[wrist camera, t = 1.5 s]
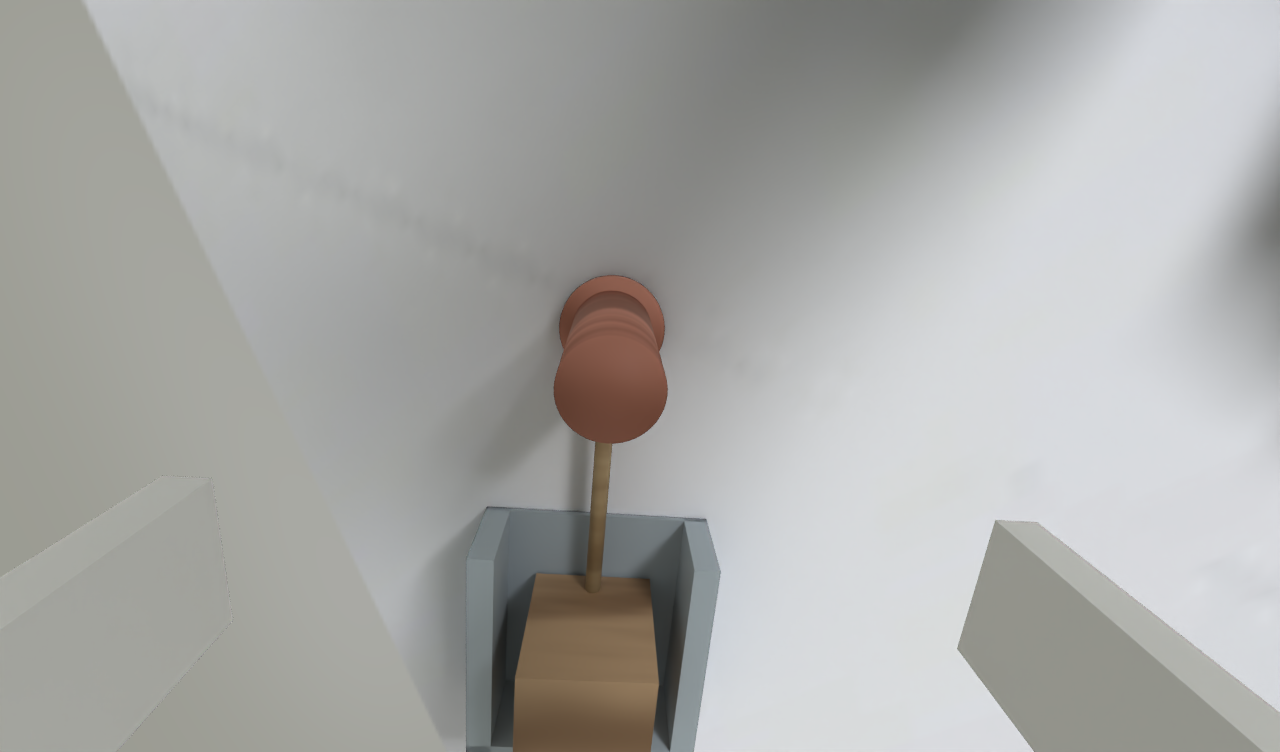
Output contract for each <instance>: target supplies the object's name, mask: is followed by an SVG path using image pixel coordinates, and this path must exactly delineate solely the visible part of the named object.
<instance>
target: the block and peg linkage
mask: <svg viewBox="0 0 1280 752" xmlns="http://www.w3.org/2000/svg"><path fill="white" fill-rule="evenodd" d="M664 331H665V326H664V319H663V314H662V312H661V309H660V306H659V304H658V302H657V300H656V299H655V297H654V296H653V295H652V293H651V292H650V291H649V290H648V289H647V288H645V287H644V286H643V285H642V284H640V283H638V282H637V281H635V280H632V279H630V278H627V277H623V276H617V275H607V276H600V277H596V278H594V279H591V280H589V281H587V282H585V283H583V284H582V285H581V286H579V287H578V288H577V289H576V290H575V291H574V292H573V293H572V294H571V296H570V297H569V298H568V300H567V302H566V304H565V306H564V308H563V311H562V313H561V317H560V324H559V333H560V340H561V343H562V346H563V348H564V351H563V354H562V357H561V361H560V364H559V367H558V370H557V373H556V377H555V381H554V398H555V403H556V406H557V409H558V411H559V413H560V415H561V417H562V418H563V420H564V421H565V422H566V424H567V425H568V426H569V427H570V428H571V429H572V430H573V431H575V432H576V433H578V434H579V435H581V436H583V437H584V438H586V439H589V440H592V441H595V453H594V467H593V482H592V496H591V510H590V524H589V538H588V552H587V566H586V576H581V575H561V574H541V573H536V578H535V583H534V588H533V593H532V598H531V602H530V607H529V612H528V617H527V622H526V627H525V632H524V637H523V641H522V646H521V651H520V656H519V661H518V666H517V671H516V676H515V693H514V725H513V752H651V745H652V737H653V728H654V720H655V712H656V704H657V696H658V687H659V679H658V667H657V656H656V645H655V634H654V622H653V611H652V600H651V589H650V579H641V578H621V577H601V576H602V564H603V551H604V539H605V527H606V514H607V502H608V489H609V477H610V464H611V452H612V444H614V443H622V442H626V441H630V440H632V439H635V438H637V437H639V436H641V435H642V434H644V433H645V432H647V431H648V430H649V429H650V428H651V427H652V426H653V425H654V424H655V423H656V422H657V420H658V419H659V417H660V416H661V414H662V412H663V410H664V407H665V404H666V400H667V389H668V388H667V380H666V376H665V372H664V368H663V365H662V361H661V357H660V354H659V351H660V349H661V346H662V343H663V339H664Z"/></svg>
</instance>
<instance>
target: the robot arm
mask: <svg viewBox="0 0 1280 752" xmlns="http://www.w3.org/2000/svg"><path fill="white" fill-rule="evenodd" d="M232 621H233V616H232V609H231V603H230V596H229V589H228V582H227V576H226V569H225V562H224V556H223V548H222V541H221V534H220V528H219V521H218V514H217V507H216V500H215V494H214V487H213V480H212V478H200V477H181V476H161V477H159V478H157V479H156V480H154V481H153V482H151V483H149V484H148V485H146V486H145V487H143V488H142V489H140V490H138V491H137V492H135V493H134V494H132V495H130V496H129V497H127V498H126V499H124V500H123V501H121V502H119V503H118V504H116V505H115V506H113V507H111V508H110V509H108V510H107V511H105V512H103V513H102V514H100V515H99V516H97V517H95V518H94V519H92V520H91V521H89V522H88V523H86V524H85V525H83V526H81V527H80V528H78V529H76V530H75V531H73V532H72V533H70V534H68V535H67V536H65V537H64V538H62V539H61V540H59V541H57V542H56V543H54V544H53V545H51V546H49V547H48V548H46V549H45V550H43V551H41V552H40V553H38V554H37V555H35V556H34V557H32V558H30V559H29V560H27V561H26V562H24V563H22V564H21V565H20V566H18V567H16V568H14V569H13V570H11V571H10V572H8V573H7V574H5V575H3V576H2V577H0V752H117V751H118V750H119V749H120V748H121V746H122V745H123V744H124V743H125V742H126V741H127V740H128V739H129V737H130V736H131V735H132V734H133V733H134V732H135V731H136V730H137V728H138V727H139V726H140V725H141V724H142V723H143V722H144V721H145V719H146V718H147V717H148V716H149V715H150V714H151V713H152V712H153V710H154V709H155V708H156V707H157V706H158V705H159V704H160V702H161V701H162V700H163V699H164V698H165V697H166V696H167V695H168V693H169V692H170V691H171V690H172V689H173V688H174V687H175V686H176V684H177V683H178V682H179V681H180V680H181V679H182V678H183V676H184V675H185V674H186V673H187V672H188V671H189V670H190V669H191V668H192V666H193V665H194V664H195V663H196V662H197V661H198V660H199V659H200V657H201V656H202V655H203V654H204V653H205V652H206V651H207V650H208V648H209V647H210V646H211V645H212V644H213V643H214V642H215V640H216V639H217V638H218V637H219V636H220V635H221V633H222V632H223V631H224V630H225V629H226V628H227V627H228V626H229V625H230V624H231V622H232ZM957 649H958V650H959V652H960V653H961V654H962V656H963V657H964V658H965V660H966V661H967V662H968V664H969V665H970V666H971V668H972V669H973V670H974V672H975V673H976V674H977V676H978V677H979V678H980V680H981V681H982V682H983V684H984V685H985V686H986V688H987V689H988V690H989V692H990V693H991V694H992V696H993V697H994V698H995V700H996V701H997V703H998V704H999V705H1000V707H1001V708H1002V709H1003V711H1004V712H1005V713H1006V715H1007V716H1008V717H1009V719H1010V720H1011V721H1012V723H1013V724H1014V725H1015V727H1016V728H1017V729H1018V731H1019V732H1020V733H1021V735H1022V736H1023V737H1024V739H1025V740H1026V741H1027V743H1028V744H1029V745H1030V747H1031V748H1032V749H1033V751H1034V752H1280V712H1278V711H1277V710H1276V709H1275V708H1273V707H1272V706H1271V705H1269V704H1268V703H1267V702H1266V701H1264V700H1263V699H1262V698H1261V697H1259V696H1258V695H1257V694H1255V693H1254V692H1253V691H1252V690H1250V689H1249V688H1248V687H1247V686H1245V685H1244V684H1243V683H1241V682H1240V681H1239V680H1238V679H1236V678H1235V677H1234V676H1233V675H1231V674H1230V673H1229V672H1227V671H1226V670H1225V669H1224V668H1222V667H1221V666H1220V665H1218V664H1217V663H1216V662H1215V661H1213V660H1212V659H1211V658H1210V657H1208V656H1207V655H1206V654H1204V653H1203V652H1202V651H1201V650H1199V649H1198V648H1197V647H1196V646H1194V645H1193V644H1192V643H1190V642H1189V641H1188V640H1187V639H1185V638H1184V637H1183V636H1182V635H1180V634H1179V633H1178V632H1176V631H1175V630H1174V629H1173V628H1171V627H1170V626H1169V625H1167V624H1166V623H1165V622H1164V621H1162V620H1161V619H1160V618H1159V617H1157V616H1156V615H1155V614H1153V613H1152V612H1151V611H1150V610H1148V609H1147V608H1146V607H1145V606H1143V605H1142V604H1141V603H1139V602H1138V601H1137V600H1136V599H1134V598H1133V597H1132V596H1131V595H1129V594H1128V593H1127V592H1125V591H1124V590H1123V589H1122V588H1120V587H1119V586H1118V585H1117V584H1115V583H1114V582H1113V581H1111V580H1110V579H1109V578H1108V577H1106V576H1105V575H1104V574H1102V573H1101V572H1100V571H1099V570H1097V569H1096V568H1095V567H1094V566H1092V565H1091V564H1090V563H1088V562H1087V561H1086V560H1085V559H1083V558H1082V557H1081V556H1080V555H1078V554H1077V553H1076V552H1074V551H1073V550H1072V549H1071V548H1069V547H1068V546H1067V545H1066V544H1064V543H1063V542H1062V541H1060V540H1059V539H1058V538H1057V537H1055V536H1054V535H1053V534H1051V533H1050V532H1049V531H1048V530H1046V529H1045V528H1044V527H1043V526H1041V525H1040V524H1039V523H1037V522H1022V521H1004V520H995V523H994V527H993V530H992V533H991V537H990V540H989V543H988V547H987V550H986V553H985V557H984V560H983V564H982V567H981V570H980V574H979V577H978V580H977V584H976V587H975V590H974V594H973V597H972V600H971V604H970V607H969V611H968V614H967V617H966V621H965V624H964V627H963V631H962V634H961V637H960V641H959V644H958V647H957Z"/></svg>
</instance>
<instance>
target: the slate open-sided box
mask: <svg viewBox="0 0 1280 752" xmlns="http://www.w3.org/2000/svg"><path fill="white" fill-rule="evenodd" d="M589 524H590V513H589V512H571V511H554V510H536V509H518V508H501V507H487V509H486V511H485V514H484V516H483V519H482V521H481V524H480V526H479V529H478V531H477V534H476V536H475V539H474V541H473V543H472V546H471V548H470V551H469V553H468V556H467V558H466V752H513V725H514V693H515V676H516V671H517V666H518V661H519V656H520V651H521V646H522V641H523V637H524V632H525V627H526V622H527V617H528V612H529V607H530V602H531V598H532V593H533V588H534V583H535V578H536V573H541V574H561V575H581V576H586V566H587V552H588V538H589ZM720 574H721V571H720V567H719V564H718V560H717V556H716V553H715V549H714V546H713V542H712V538H711V535H710V531H709V527H708V524H707V520H706V519H695V518H678V517H660V516H642V515H624V514H606V527H605V539H604V551H603V564H602V576H601V577H621V578H641V579H650V589H651V600H652V611H653V622H654V634H655V645H656V656H657V667H658V679H659V687H658V696H657V704H656V712H655V720H654V728H653V737H652V745H651V752H694V746H695V740H696V733H697V726H698V720H699V713H700V706H701V700H702V693H703V687H704V680H705V673H706V667H707V660H708V653H709V647H710V640H711V633H712V627H713V620H714V614H715V607H716V600H717V594H718V587H719V580H720Z"/></svg>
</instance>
